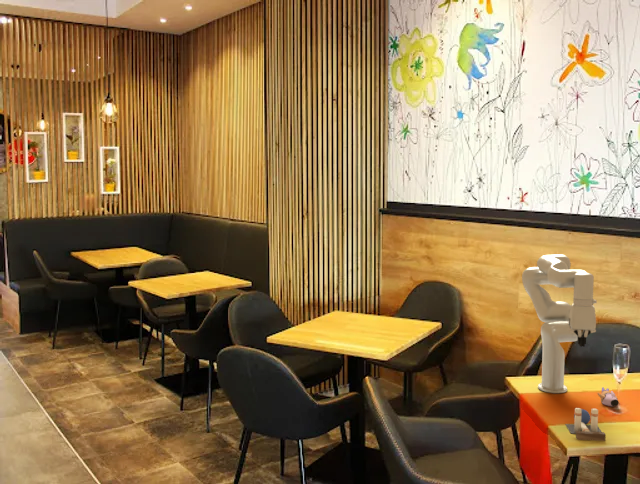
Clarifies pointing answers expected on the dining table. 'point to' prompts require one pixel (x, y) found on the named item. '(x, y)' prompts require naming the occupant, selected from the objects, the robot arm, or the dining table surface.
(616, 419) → the dining table surface
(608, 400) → the toy
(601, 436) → the backstop
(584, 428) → the pin front
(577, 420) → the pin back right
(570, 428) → the pin deck mark
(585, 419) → the ball
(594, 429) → the pin back left
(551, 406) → the dining table surface
